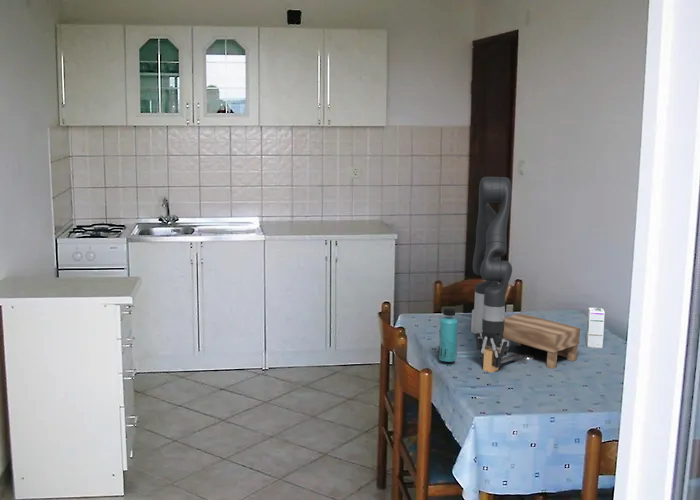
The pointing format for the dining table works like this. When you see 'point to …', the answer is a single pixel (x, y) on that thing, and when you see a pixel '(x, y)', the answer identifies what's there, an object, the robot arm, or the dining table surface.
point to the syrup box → (595, 327)
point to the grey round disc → (529, 357)
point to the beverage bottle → (448, 336)
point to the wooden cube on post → (490, 359)
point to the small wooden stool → (543, 336)
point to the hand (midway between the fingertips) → (491, 365)
